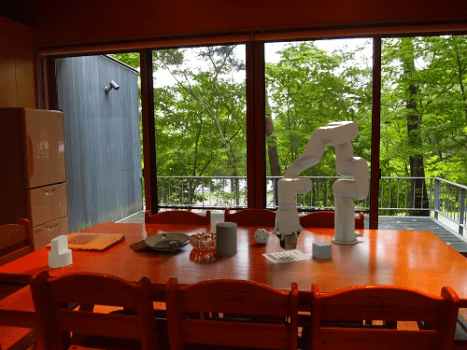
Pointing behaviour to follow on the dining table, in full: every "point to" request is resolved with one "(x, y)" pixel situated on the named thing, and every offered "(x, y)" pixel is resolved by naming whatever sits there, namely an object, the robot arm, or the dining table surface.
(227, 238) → the pillar candle
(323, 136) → the robot arm
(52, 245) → the base with upright slab
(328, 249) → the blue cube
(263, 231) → the game die
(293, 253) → the letter
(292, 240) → the walnut block
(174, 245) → the oil lamp
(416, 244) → the dining table surface
